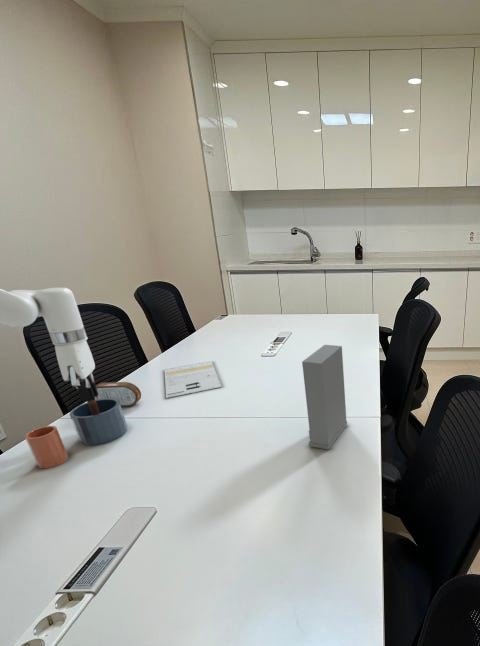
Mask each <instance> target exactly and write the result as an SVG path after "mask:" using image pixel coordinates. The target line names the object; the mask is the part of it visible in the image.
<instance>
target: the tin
mask: <svg viewBox="0 0 480 646" xmlns="http://www.w3.org/2000/svg"><path fill="white" fill-rule="evenodd" d="M96 388H97V391H98V394H99V395H98V396H95V400H98V399H106V398H112V399H117V400H118V401H119V402H120V405H121V408H122V407H132V406H135V405H136V404H137V403H138V402H139V401H140V400H141V399H142V392H141V390H140V388H139V387H138V386H137V385H136V384H134V383H132V382H129V381H118V382H117V381H114V382H113V381H112V382H100V383H98V384H96Z"/></svg>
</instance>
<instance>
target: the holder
mask: <svg viewBox="0 0 480 646" xmlns="http://www.w3.org/2000/svg"><path fill="white" fill-rule="evenodd" d="M24 438H25V440H26V443H27V445H28V446H29V449H30V451H31V453H32V456H33V458H34V460H35V462H36V465H37V466H38V468H40V469H50V468H55V467H57V466H60V465H61V464H63V463H65V462H66V461H67V460H68V459H69V454H68V451H67V449H66V447H65V444H64V441H63V440H62V437H61V435H60V432H59V429H58V427H57V426H55V425H46V426H45V425H44V426H40V427H38V428H37V427H36V428H35V429H32V430H30V431H29V432H27V433H26V434H25V435H24Z"/></svg>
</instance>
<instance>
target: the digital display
mask: <svg viewBox="0 0 480 646" xmlns="http://www.w3.org/2000/svg"><path fill="white" fill-rule="evenodd" d="M164 383H165V385H164V386H165V398H166V399H169V398H175V397H179V396H183V395H188V394H193V393H198V392H205V391H209V390H214V389H218V388H222V385H221V382H220V380H219V377H218V374H217V372H216V369H215V367H214V364H213V361H207V362H202V363H197V364H191V365H185V366H178V367H173V368H167V369H164Z"/></svg>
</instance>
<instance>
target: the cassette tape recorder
mask: <svg viewBox="0 0 480 646" xmlns="http://www.w3.org/2000/svg"><path fill="white" fill-rule="evenodd" d="M301 363H302V364H301V365H302V372H303V373H302V374H303V382H304V383H303V384H304V392H305V401H306V409H307V411H306V412H307V420H308V428H309V430H308V437H309V442H308V447H311V448H317V449H324V450H327V451H328V450H330V449H331V448H332V446H333V444H334V443H335V442H336V440H337V439H338V438H339V437H340V435H341V434H342V433H343V432H344V429H345V428H346V426H348V421H347V407H346V406H347V405H346V392H345V391H346V390H345V389H346V388H345V375H344V374H345V373H344V360H343V346H342V345H332V344H323V345H322V346H321V347H320V348H318V349H317V350H315V351H314V352H313V353H312V354H310V355H309V356H308V357H306V358H304V360H303V361H302V362H301Z"/></svg>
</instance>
